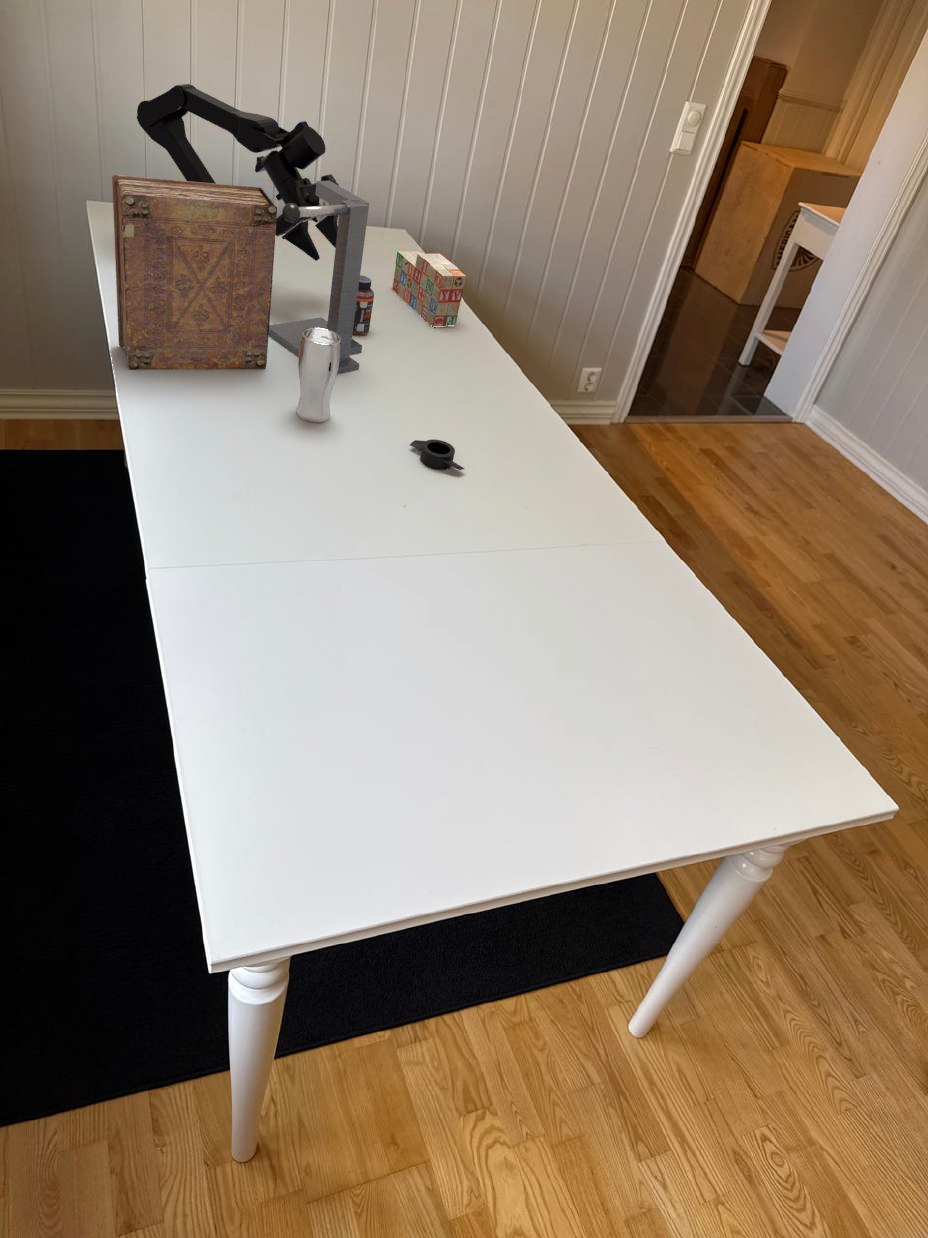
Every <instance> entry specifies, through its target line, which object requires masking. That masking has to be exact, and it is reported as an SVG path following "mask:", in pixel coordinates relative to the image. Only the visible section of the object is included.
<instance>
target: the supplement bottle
mask: <svg viewBox="0 0 928 1238" xmlns="http://www.w3.org/2000/svg"><path fill="white" fill-rule="evenodd" d="M371 287H372V279H371V278H370V277H368V276H366V275H362V274H360V279H359V287H358V295H357V303H356V311H355V318H354V326H353V334H352V335H355V336H364V335H367V334H368V333H369V332H370V327H371V326H370V325H371V319H372V313H373V312H372V311H373V307H374V306H373V305H374V298H375V292H374V290H373V289H372V288H371Z"/></svg>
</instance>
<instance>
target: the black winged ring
mask: <svg viewBox="0 0 928 1238" xmlns="http://www.w3.org/2000/svg"><path fill="white" fill-rule="evenodd" d="M409 446H410V447H411V448H412V447H413V448H415V449H417V450H418V451H419V452H420V455H419V462H421V464H423V466H425V467H427V468H429V469H432V470H435V471H436V470H437V471H444V470H449V469H450V468H451V467H452V468H453V469H456V470H458V471H462V470H465V469H466V468H465V467H463V466H461V465H459V464H458V463H456V462H454V458H455V454H456V448H455V447H454V446H453V445H452V444H451V443H449V442H447V441H444V440H441V439H427V440H419V439H418V440H417V439H416V440H413V441H411V443H409Z"/></svg>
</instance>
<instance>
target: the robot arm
mask: <svg viewBox="0 0 928 1238" xmlns="http://www.w3.org/2000/svg"><path fill="white" fill-rule="evenodd" d="M189 112H190V113H191V114H193V115H194V116H197V117H200V118H202V119H203V120H205V121H207V122H209V123H210V124H213V125H215V126H217V127H219V128H221V129H222V130H225V131H227V132H228V133H230V134H231V135H232V136H233V137H234V138H235V140H236V141H237V143H239V144H240V145H241V146H243V148H246V149H247V150H248V151H249V152H252V153H255V154H259V153H261V152H262V153H263V152H267V151H270V152H269V153H268V154H267V155H266V156H264V155H261V156H257V157H256V164H255V167H254V168H255V169H254V172H255V173H257V174H258V173H262V172H264V171H265V173H266V174H267V175H268V177H269V180H270V181H271V182H272V185H273V186H274V187H275V190H276V191H277V194H276V195H275V197H276V199H277V201H278V202H279V201H282V202H283V203H284V206H285V205H286V204H288V203H294V204H296V205H297V206H298V207H310V206H319V197H318V196H316V195H315V194H316V183H317V182H315V183H312V182H311V179H309V178H308V177H303V176H302V175H301V172H300V171H299V170H303V171H304V170H306V169H307V168H308V167H310V166H311V165H312V164H313V163H315V161H317V160H318V159H319V158H321V157H322V156H324V154H325V153H326V150H327V149H326V144H325V141H324V139H323V138H322V135H320V134H319V133H318V132H317V131H316V130H315V128H312V127H311V126H309V124H308V122H307V121H306V120H302V121H299V122H298V123H297V124H296V125H295V126H294V128H292V129H291V130H290V131H288V130H286V129H285V128H283V127H281V126H280V125H279V123H278V122H277V121H276V120H275V119H274V118H273V117H270V116H265V115H263V114H258V113H252V112H247V111H242V110H240V109H237V108H235V107H234V106H232V105H230V104H227V103H226V102H224V101H222V100H220V99H218V98H216V97H213V96H212V95H210V94H208V93H206V92H203V91H202V90H200V89H198V88H197V87H196V86H195V85H193V84H191V83H184V84H176V85H174V86H173V87H171V88H170V89H169V90H167V91H166V92H164V93H162V94H160V95H158V96H156V97H154V98H152V99H148V100H142V101H140V103H139V104H138V105H137V109H136V114H137V115H136V119H137V123H138V124H139V126H140V128H141V129H142V130H143V131H144V132H145V133H146V135H147V136H148V137H149V138H150V139H151V140H152V141H153V142H154V143H156V144H158V145H159V146H161V147H162V148H163V149H165V150H166V151H167V153H168V154H169V156H170V158H171V159H172V161H173V162H174V164H175V165H176V167H177V169H178V170H179V171H180V173H181V175H182V176H183V177H184V179H185V181H191V182H202V183H213V184H217V183H216V182H215V180H214V178H213V177H212V175H211V174H210V172H209V170H208V169H207V167H206V166H205V164H204V163H203V161H202V160H201V158H200V157H199V155H198V153H197V152H196V151H195V149H194V147H193V146H192V144H191V143H190V140H189V139H188V138H187V132H186V127H185V122H184V119H183V117H184V116H186V115H187V114H189ZM280 147H281V149H279V150H276V148H280ZM298 169H299V170H298ZM320 181H331V182H333V183H335V184H336V185H338V186H340V185H339V183H338V182H337V180H336V179H335V177H334V176H333V174H331V173H330V174H325V175H322V176H321V177H320ZM309 220H312V221H313V222H314V223H315V225H314V226H315V227H316V228H317V230H319V232H320V233H321V234H322V235H323V236H324V238H325V239H326V240H327V241H328V242H329V244H331V246H333V248H335V249H336V240H337V231H338V220H339V215H331V216H316V217H300V218H299V219H298V220H297V221H296V222H293V223H292V222H288V221H286V220H285V218H284V217H283V214H282V213H281V214H280V215H279V216H277V220H276V234H275V237H276V238H278V237H281V239H282V240H286V241H287V242H288V243H290V244H292V245H293V246H295V247H296V248H298V249H299V250H301V251H302V252H304V253H305V254H306V255H307V256H309V257H310V258H311V259H313V260H314V261H315V262H317V261H319V260H320V259H321V257H320V255H319V252H318V250H317V247H316V245H315V243H314V242H313V239H312V237H311V235H310V232H309Z"/></svg>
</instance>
